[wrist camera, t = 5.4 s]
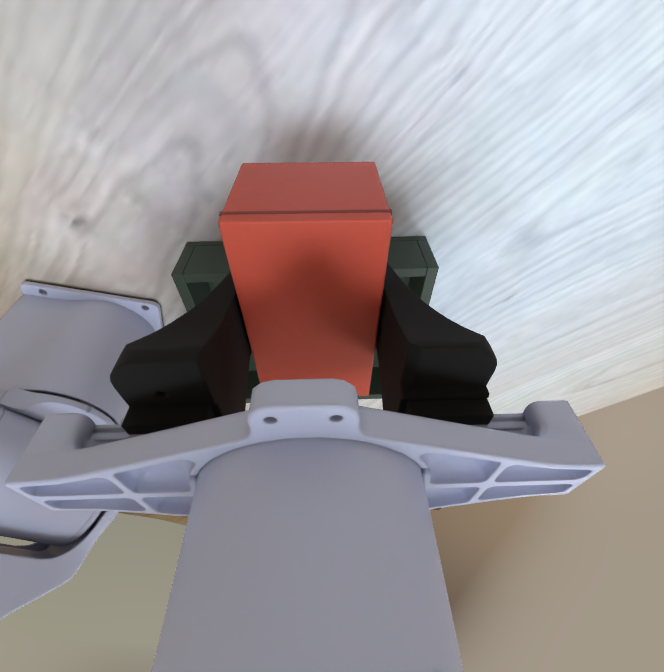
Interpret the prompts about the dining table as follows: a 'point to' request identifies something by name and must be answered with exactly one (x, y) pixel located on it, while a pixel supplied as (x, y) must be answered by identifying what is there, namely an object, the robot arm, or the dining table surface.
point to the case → (309, 266)
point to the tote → (212, 267)
